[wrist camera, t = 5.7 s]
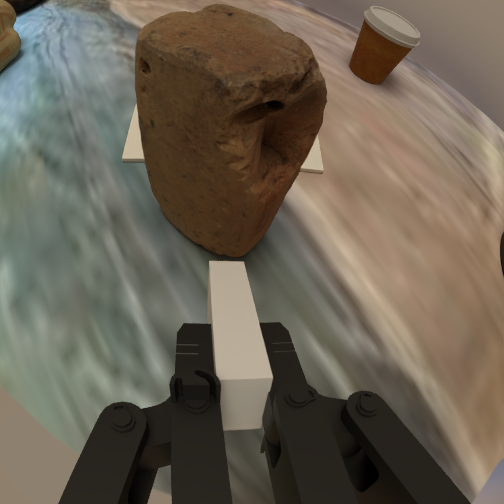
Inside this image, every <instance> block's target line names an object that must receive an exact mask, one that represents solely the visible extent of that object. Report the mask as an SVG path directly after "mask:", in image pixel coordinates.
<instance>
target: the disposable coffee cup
mask: <svg viewBox="0 0 504 504" xmlns="http://www.w3.org/2000/svg"><path fill="white" fill-rule="evenodd" d="M419 39H420V33H419V31H418V30H417V29H416V28H415V27H414V26H413V25H412V24H411V23H410V22H409V21H407V20H406V19H404V18H403V17H401V16H400V15H398V14H396V13H395V12H393V11H391V10H388V9H386V8H383V7H379V6H372V7H370V8H369V10H366V11H365V12H364V22H363V25H362V28H361V31H360V34H359V37H358V40H357V43H356V46H355V49H354V52H353V55H352V58H351V61H350V63H349V66H350V69H351V70H352V71H353V72H354V74H356V75H357V76H358V77H359V78H361V79H363V80H364V81H367V82H369V83H372V84H380V83H381V82H382V81H383V80H384V79H385V78H386V77H387V76H388V74H389V73H390V72H391V71H392V70H393V69H394V68H395V67H396V66H397V65H398V63H399V62H400V61H401V60H402V59H403V58H404V57H405V56H406V55H407V54H408V53H409V51H410V50H411V49H412V48H415V47H416V46H418V45H419V44H420V42H419Z"/></svg>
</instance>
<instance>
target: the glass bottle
mask: <svg viewBox="0 0 504 504" xmlns="http://www.w3.org/2000/svg"><path fill="white" fill-rule="evenodd" d="M4 1H7V2H8V3H9V4H10V5H11V6H12V7H13V9H14V10H15V13H17V12H20V11H23V10H25V9H27V8H29V7H31V6H33V5H34V4H36V3H38V2H39V1H40V0H4Z"/></svg>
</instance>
